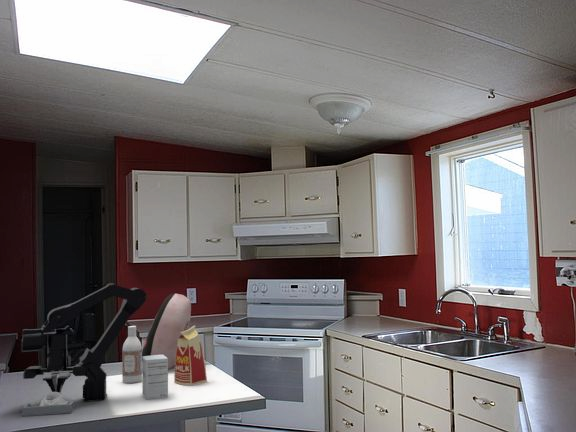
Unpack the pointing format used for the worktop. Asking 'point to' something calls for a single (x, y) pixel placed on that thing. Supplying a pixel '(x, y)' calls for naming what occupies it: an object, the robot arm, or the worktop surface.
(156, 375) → the supplement box
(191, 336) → the milk carton
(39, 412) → the tray
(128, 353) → the bath foam
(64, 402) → the whipped cream
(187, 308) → the beige tall rounded piece
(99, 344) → the robot arm
